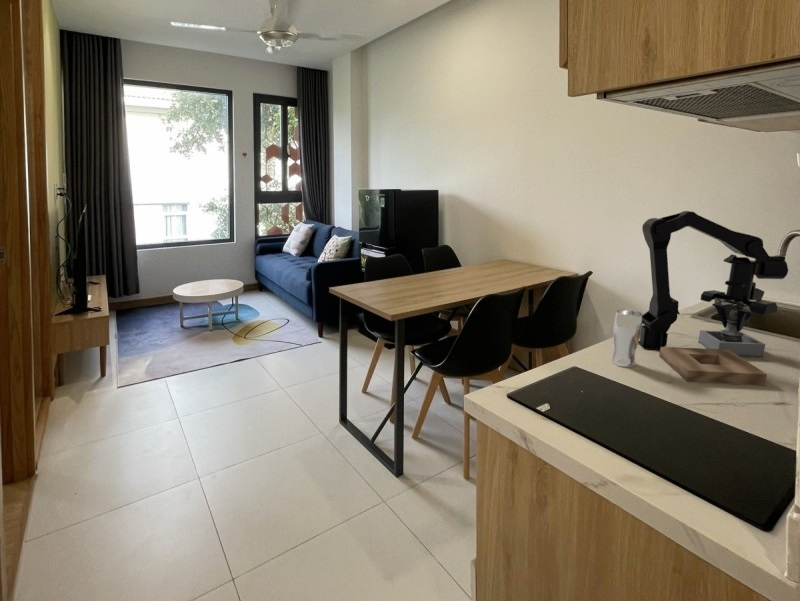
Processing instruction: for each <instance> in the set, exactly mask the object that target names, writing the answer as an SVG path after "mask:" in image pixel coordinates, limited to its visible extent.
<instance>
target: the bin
mask: <svg viewBox="0 0 800 601" xmlns="http://www.w3.org/2000/svg"><path fill="white" fill-rule="evenodd" d="M720 331H721V330H705V329H704V330H701V329H700V330H699V336H698V343H699V344H700V345H702V346H703V347H705V349H728V350H730V351H732V352H733V353H735V354H736V355H738V356H739V357H741V356H742V357H743V358H744V357H745V358H764V353H765V349H766V344H765V343H764V342H762V341H760V340H758V339H756V338H754V337H753V336H751V335H749V334H747V333H745V332H743V331H740V332H741V333H743V334H744V335H743V336H742V338H741V339H740V340H739V341H737V342H721V341H722V340H724V339H723V338H722V337H721V333H720ZM742 357H741V358H742Z"/></svg>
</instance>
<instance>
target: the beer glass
mask: <svg viewBox="0 0 800 601" xmlns="http://www.w3.org/2000/svg"><path fill="white" fill-rule="evenodd" d="M642 315H643V312H642V311H639V310H635V309H626V308H625V309H623V308H622V309H617V310H616V311H615V316H614V320H613V321H614V322H613V331H612V332H613V344H614V350H613V351H614V352H613V355H612V359H611V363H612V364H613V365H614V366H618V367H622V368H634V367H635V366H636V350H637V348H638V345H639V343H638V342H639V341H640V335H641V330H642V325H643V324H642Z"/></svg>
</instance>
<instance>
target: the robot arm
mask: <svg viewBox="0 0 800 601" xmlns="http://www.w3.org/2000/svg"><path fill="white" fill-rule="evenodd" d="M641 227H642V228H641V229H642V235H643V237H644V241H645V243H646V245H647V247H648V249H649V257H650V258H649V259H650V272H651V283H652V284H651V286H652V296H651V299H650V301H649V307H648V311H646V312H645V313H643V314H642V330H641V335H640V338H639V342H638V345H639V346H641V347H642V349H644V350H660V348H661V347H667V344H668V336H669V333H667V332H668V331H669V330H670V328H671V326H672V324H674V323H675V322H677V319H678V315H680V314H681V313H680V312H679V303H680V302H679V301H678V300H677V299H675V298H673V297H672V296H671V291H670V289H671V288H670V276H669V263H668V262H669V261H668V260H669V259H668V246H669V244H670V241H671V237H672V233H675V232H678V231H681V230H683V229H685V228H687V227H688V228H691V229H693V230H695V231H698V232H699V233H702V234H703V235H706V236H708V237H710V238H712V239H715V240H717V241H719V242H720V243H722V244H723V245H724V246H725V248H728V249H729V250H730V251H732V252H733V253H735V254H730V255H729V256H728V257H726V258H723V262H724V263H727V264H731V266H730V270H729V278H728V280H726V281H725V282H724V285H727V287H726V288H727V289H726V292H724V291H719V290H714V289H713V290H706V291H705V290H704V291H703V292H702V293H701V295H700V299H699V300H700V301H703V302H708V303H711V302H712V301H714V302H713V303H712V304H711V305H712V306H713V307H714V308H715V310H716V311H717V314H718V315H719V318H720V321H721V323H722V326H723V328H724V329H726V326H727V319H728V317H729V311H730V310H731V309H733V307H735V306H741V307H743V308H741V309H739V310H738V316H737V331H739V332H742V330H743V329H744V326H745V325H746V324H747V322H748V321H749V319H750V318H751V317H752V316H753V315H754V314H760V315H769V314H775V313H778V312H777V311H778V305H777V303H776V302H773V301H769V300H763V296H764V295H765V291H764V290H762V289H760V288H757V287H756V286H757V284H756V282H754V278H757V279H759V280H760V279H761V280H783V279H785V278H786V277H787V275H788V273H789V268H788V267H789V266H788V263H787V262H786V256H784V255H769V254H768V252H767V251H766V249H765V248H764V240H763V239H762V238H761V237H759V236H756V235H751V234H747V233H744V232H738V231H735V230H732V229H729V228H728V227H726V226H723V225H721V224H719V223H716V222H714V221H713V220H710V219H707V218H706V217H703V216H701V215H699V214H697V213H696V212H694V211H689V210H683V211H681V212H678V213H676V214H671V215H667V216H663V217H660V218H657V217H651V218H648V219H647V220H646V221H644V223H643V224H642V226H641ZM736 254H738V255H741V256H739V257H738V256H737V255H736ZM743 256H745V257H743ZM750 258H752V259H754V260H750Z"/></svg>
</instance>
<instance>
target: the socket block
mask: <svg viewBox="0 0 800 601" xmlns="http://www.w3.org/2000/svg"><path fill="white" fill-rule="evenodd" d="M658 357H660V358H661V359H662V360H663V361H664V362H665V363H666V364H667V365H668V366H669V367H670V368H671V369H673V370H674V371H675V372H676V373H677V374H678V375H679V376H680V377H681V378H683V379H684V381H686V382H691V383H707V384H708V383H710V384H711V383H712V384H727V385H728V384H729V385H732V384H733V385H748V386H751V385H752V386H766V382H767V378H768V374H767V373H766V372H764V371H763V370H761V369H760V368H758V367H757V366H755V365H754V364H752V363H751V362H749V361H748V360H746V359H744V357H743V358H742V357H741V356H738V355H736V354H735V353H733V352H732V351H730V350H728V349H707V348H702V347H700V348H699V347H697V348H696V347H678V346H677V347H675V346H674V347H673V346H670V347H669V346H665V347H661V348H660V351H659V356H658Z"/></svg>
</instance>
